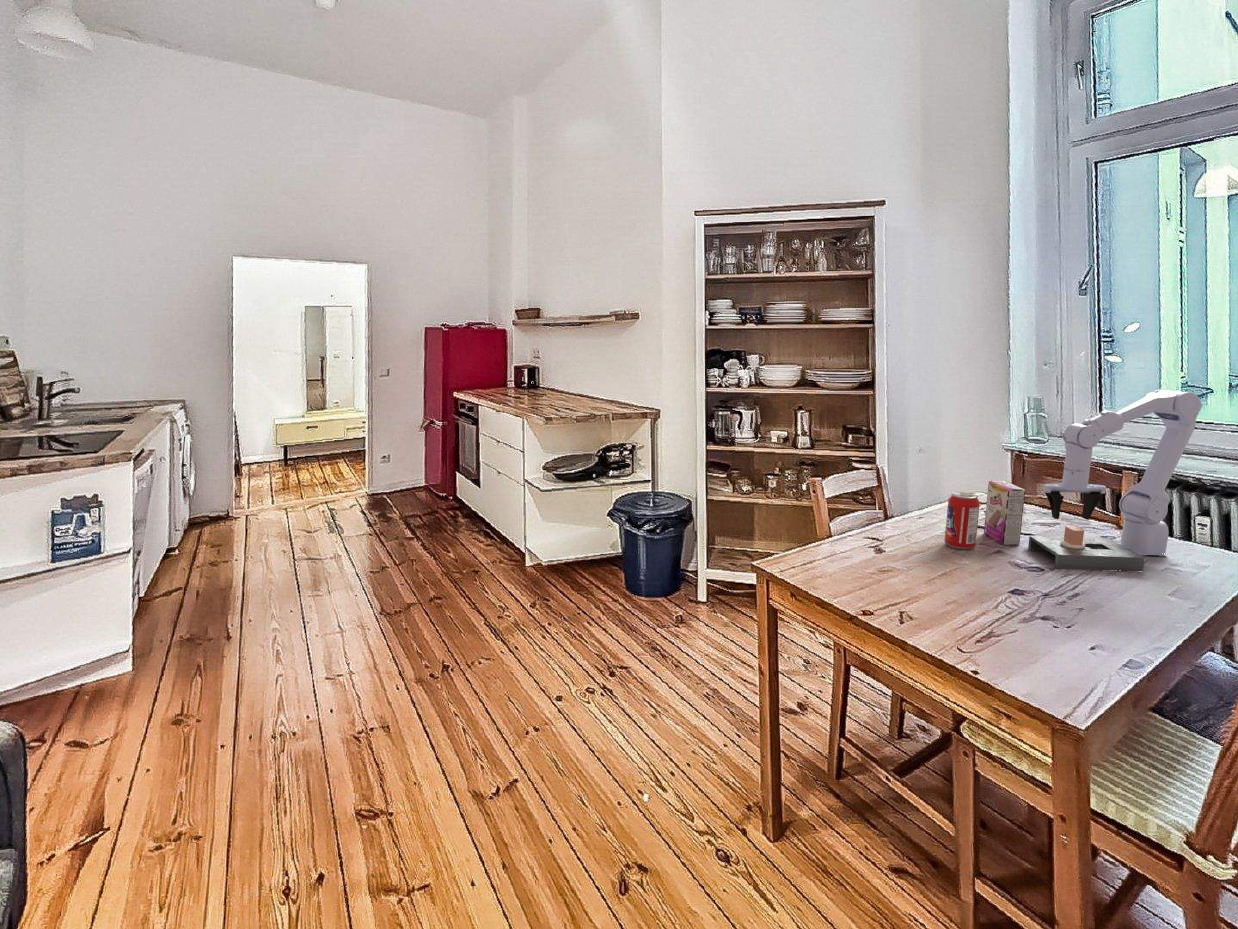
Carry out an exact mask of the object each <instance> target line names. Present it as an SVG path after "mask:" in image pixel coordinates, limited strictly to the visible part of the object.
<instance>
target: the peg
mask: <svg viewBox="0 0 1238 929" xmlns="http://www.w3.org/2000/svg"><path fill="white" fill-rule="evenodd" d="M1084 535H1085V530H1084V529H1082V528H1081V527H1078V526H1074V525H1071V526H1070V525H1065V528H1064V534H1063V537H1064V540H1061V542H1060V545H1061V546H1063V547H1067V548H1071V549H1084V548H1085V544H1084V543H1083V537H1084Z"/></svg>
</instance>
